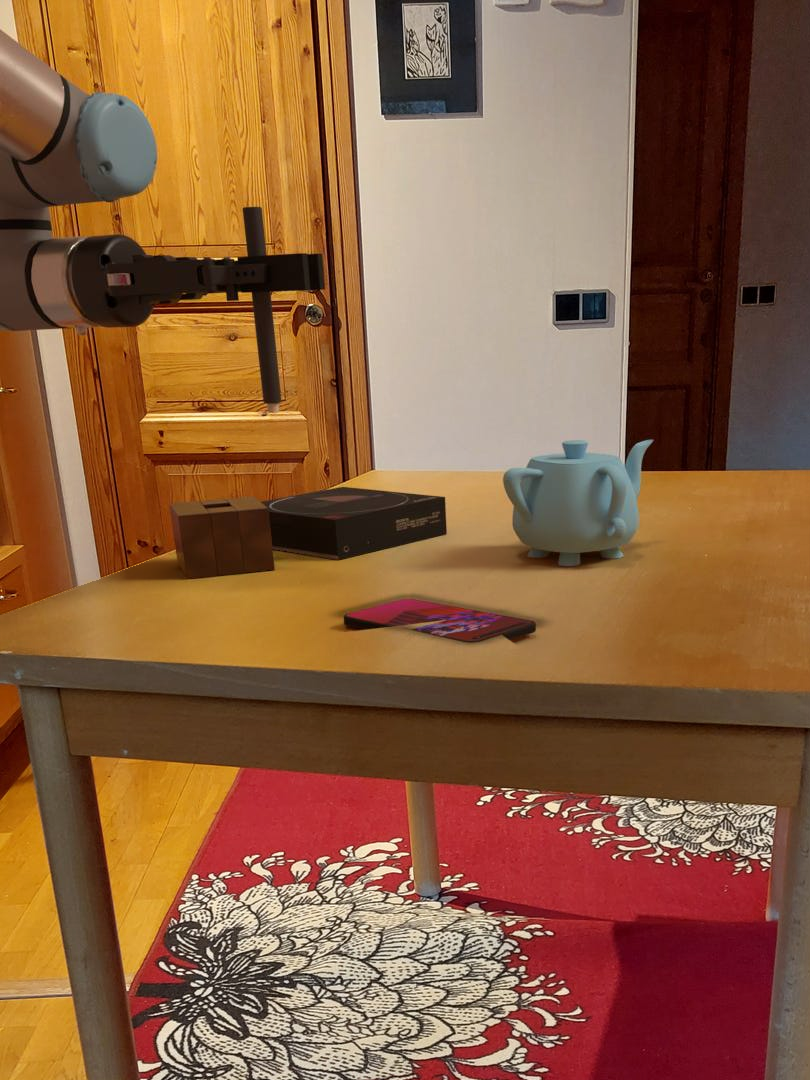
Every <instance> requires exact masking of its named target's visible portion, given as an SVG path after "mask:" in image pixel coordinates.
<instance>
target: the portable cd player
mask: <svg viewBox="0 0 810 1080" xmlns="http://www.w3.org/2000/svg"><path fill="white" fill-rule="evenodd" d="M260 502H261V503H262V504H263V505H265V506H266V507H267V508H268V512H269V521H270V530H271V539H272V549H274V550H273V551H278V550H280V551H279V552H284V551H287V552H286V553H291V552H293V553H292V554H297V553H299V554H298V555H304V554H306V555H305V556H310V555H311V557H317V558H323V559H324V558H325V559H330V560H335V561H337V560H338V561H339V560H344V559H348V558H352V557H357V556H361V555H365V554H369V553H373V552H377V551H381V550H386V549H390V548H394V547H399V546H403V545H406V544H411V543H414V542H420V541H423V540H428V539H432V538H436V537H439V536H440V537H441V536H444V535H448V534H447V533H448V532H447V531H448V530H447V509H446V507H447V506H446V496H441V495H431V494H430V495H429V494H420V493H419V494H418V493H408V492H400V491H399V492H398V491H389V490H380V489H379V490H378V489H369V488H358V487H350V486H340V487H333V488H329V489H328V488H327V489H323V490H317V491H313V492H307V493H301V494H295V495H290V496H285V497H284V496H283V497H280V498H273V499H268V500H263V501H260Z"/></svg>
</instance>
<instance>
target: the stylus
mask: <svg viewBox="0 0 810 1080" xmlns="http://www.w3.org/2000/svg"><path fill="white" fill-rule="evenodd" d="M242 216H243V226H244V236H245V237H244V238H245V245H246V254H247V256H263V255H268V253H267V244H266V234H265V223H264V215H263V207H262V206H244V207H242ZM271 293H272V292H251V300H252V301H251V302H252V310H253V320H254V328H255V338H256V347H257V356H258V365H259V375H260V383H261V392H262V393H261V394H262V402H263V404H266V405H267V406H266V408H267V413H269V414H274V413H275V414H276V413H279V412H280V406H279V404H280V403H282V393H281V391H282V390H281V381H280V371H279V361H278V353H277V342H276V334H275V331H276V330H275V324H274V323H275V322H274V313H273V304H272V303H273V302H272V294H271Z"/></svg>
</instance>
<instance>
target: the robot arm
mask: <svg viewBox="0 0 810 1080" xmlns="http://www.w3.org/2000/svg"><path fill="white" fill-rule="evenodd" d="M156 141H157V140H156V137H155V133H154V130H153V128H152V125H151V123H150V121H149V119H148V117H147V116H146V115H145V113H144V112H143V111H142V108H141V107H139V106H138V105H137V103H135V102H134V101H133V100H131V99H130V98H129V97H127V96H124V95H123V94H117V93H114V92H112V93H106V92H104V91H95V92H92V93H91V94H89V93H88V92H86V91H84V90H82V89H81V88H80V87H78V86H77V85H75V84H74V83H73V82H71V81H70V80H69V79H67V78H66V77H64V76H63V75H61V74H60V73H59V72H58V71H56V70H55V69H54V68H52V67H51V66H50V65H48V64H47V63H46V62H44V61H43V60H41V59H40V58H39V57H38V56H36V55H35V54H33V52H31V51H30V50H28V49H27V48H26V47H25V46H23V45H22V44H21V43H19V41H17V40H15V39H14V38H12V37H11V36H10V35H9V34H7V33H6V32H5V31H3V30H2V29H1V28H0V331H10V332H22V331H23V332H24V331H26V332H27V331H39V330H40V331H42V330H43V331H44V330H45V331H46V330H61V329H62V330H63V329H75V331H76V335H78V336H86V335H88V328H108V329H109V328H110V329H111V328H112V329H113V328H135V327H139V326H141V325H143V324H144V323H145V322H147V320H149V318H150V316H151V315H152V313H153V310H154V308H155V305H173V304H178V303H179V302H180V301H192V300H193V301H195V300H202V299H203V297H205V296H207V297H208V294H212V295H213V294H225V296H226V297H225V298H226V301H227V302H239V301H240V298H239V297H240V296H239V293H242V294H244V293H245V294H246V293H247V294H248V293H250V294H251V293H252V292H271V293H276V292H296V291H297V292H299V291H300V292H302V291H303V292H304V291H321V290H323V291H325V290H326V282H325V272H324V269H325V268H324V260H323V253H307V252H299V253H283V254H267V255H263V256H248V255H247V256H237V257H236V258H237V260H235V258H231V257H230V256H224V257H222V258H219V259H215V258H212V257H210V256H204V257H203V258H200V259H198V258H197V257H196V256H178V257H174V256H173V255H171V254H165V255H164V254H160V255H159V254H156V255H155V254H154V255H152V254H147V253H146V251H145V250H144V248H143V247H142V246H141V245H140V244H139V243H138V242H137V241H136V240H135V239H133V238H132V237H130V236H127V235H126V234H120V233H119V234H118V233H117V234H104V235H91V236H88V235H80V236H79V235H77V236H65V237H64V236H63V237H53V226H52V222H51V221H52V220H51V215H50V213H51V212H50V208H51V207H61V206H69V205H78V204H79V205H80V204H91V203H92V204H93V203H101V202H102V203H103V202H104V203H114V202H115V201H118V200H120V199H124V198H129V197H134V196H137V195H139V194H141V193H142V192H144V191H145V190H146V189H148V187H149V186H150V184H151V183H152V181H153V179H154V176H155V174H156V173H155V172H156V170H157V163H158V146H157V142H156Z"/></svg>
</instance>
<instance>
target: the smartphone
mask: <svg viewBox="0 0 810 1080" xmlns="http://www.w3.org/2000/svg"><path fill="white" fill-rule="evenodd" d="M343 623H344V625H345V626H348V627H353V628H356V629H357V628H358V629H361V630H366V631H367V630H376V629H383V628H385V629H386V628H392V627H401V626H409V625H418V624H426V623H430V624H427V625H422V626H419V627H415V628H406V627H404V629H405V630H409V631H414V632H417V633H422V634H427V635H430V636H435V637H440V638H444V639H449V640H453V641H457V642H462V643H466V644H467V643H469V644H473V643H480V642H484V641H488V640H490V639H493V638H497V637H500V636H502V637H504V638H505V639H507V640H508V641H513V640H515V639H518V638H522V637H525V636H528V635H531V634H534V633H535V632H536V631H537V623H536V621H534V620H531V619H525V618H519V617H515V616H510V615H509V616H508V615H503V614H497V613H491V612H487V611H481V610H475V609H470V608H464V607H459V606H453V605H448V604H442V603H437V602H431V601H425V600H419V599H415V598H401V599H398V600H395V601H390V602H386V603H383V604H379V605H376V606H371V607H368V608H364V609H359V610H356V611H351V612H348V613H345V614H344V615H343Z"/></svg>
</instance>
